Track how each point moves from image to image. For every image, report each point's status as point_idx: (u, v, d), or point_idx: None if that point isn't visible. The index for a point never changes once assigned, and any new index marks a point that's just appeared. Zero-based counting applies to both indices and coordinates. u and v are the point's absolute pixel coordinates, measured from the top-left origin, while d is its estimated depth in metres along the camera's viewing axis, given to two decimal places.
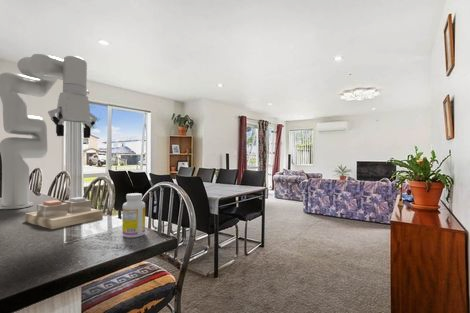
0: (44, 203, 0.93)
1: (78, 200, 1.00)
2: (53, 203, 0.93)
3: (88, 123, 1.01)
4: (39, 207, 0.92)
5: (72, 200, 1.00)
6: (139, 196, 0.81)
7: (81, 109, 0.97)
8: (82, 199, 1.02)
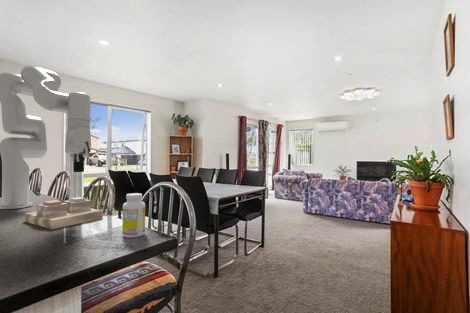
0: (44, 203, 0.93)
1: (78, 200, 1.00)
2: (53, 203, 0.93)
3: None
4: (39, 207, 0.92)
5: (72, 200, 1.00)
6: (139, 196, 0.81)
7: None
8: (82, 199, 1.02)
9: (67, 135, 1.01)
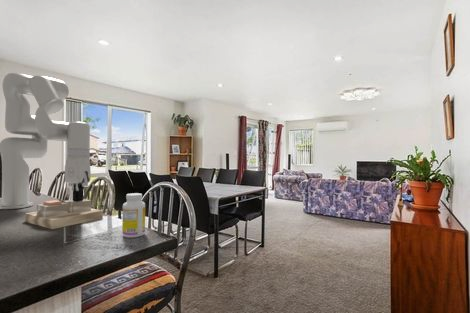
0: (44, 203, 0.93)
1: None
2: (53, 203, 0.93)
3: None
4: (39, 207, 0.92)
5: None
6: (139, 196, 0.81)
7: None
8: None
9: (66, 164, 1.01)
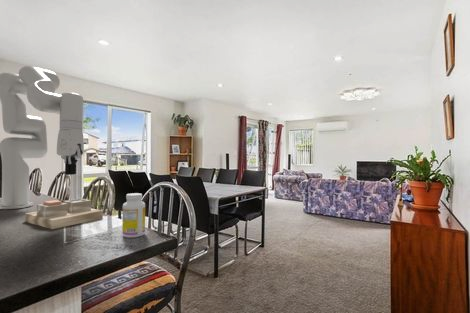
0: (44, 203, 0.93)
1: None
2: (53, 203, 0.93)
3: None
4: (39, 207, 0.92)
5: None
6: (139, 196, 0.81)
7: None
8: None
9: (58, 136, 0.99)
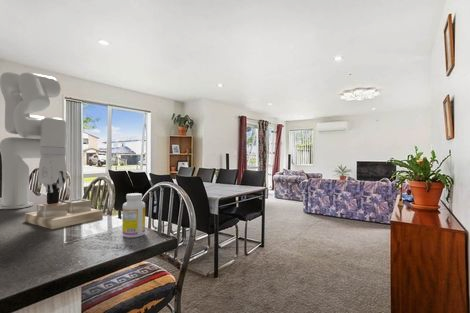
0: None
1: None
2: None
3: None
4: (39, 207, 0.92)
5: None
6: (139, 196, 0.81)
7: None
8: None
9: (40, 163, 0.93)
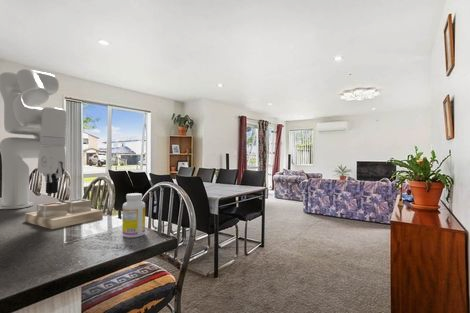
0: None
1: None
2: None
3: None
4: (39, 207, 0.92)
5: None
6: (139, 196, 0.81)
7: None
8: None
9: (39, 153, 0.94)
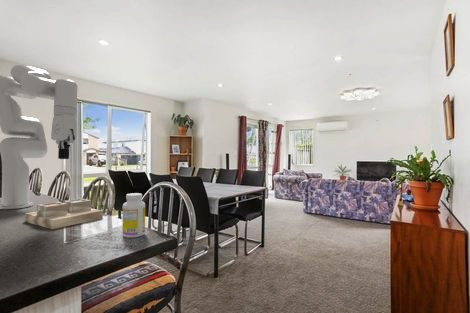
0: None
1: None
2: None
3: None
4: (39, 207, 0.92)
5: None
6: (139, 196, 0.81)
7: None
8: None
9: (53, 122, 1.02)
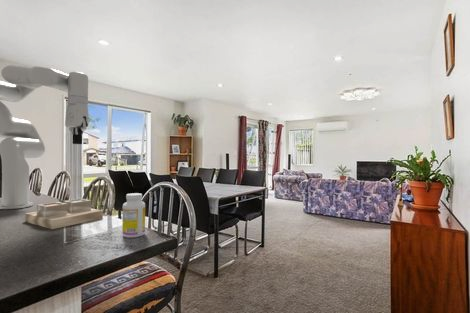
0: None
1: None
2: None
3: None
4: (39, 207, 0.92)
5: None
6: (139, 196, 0.81)
7: None
8: None
9: (67, 110, 1.13)
